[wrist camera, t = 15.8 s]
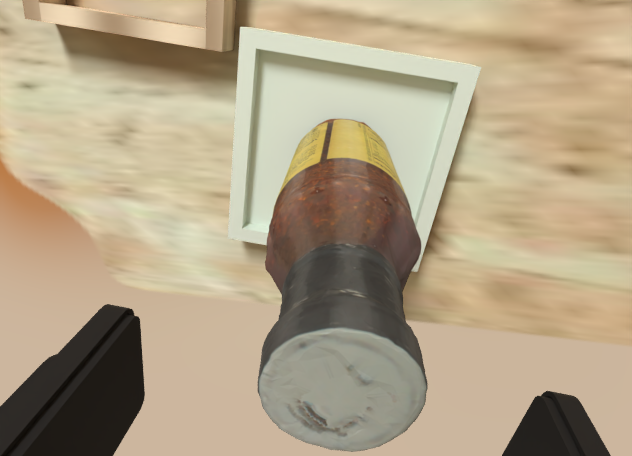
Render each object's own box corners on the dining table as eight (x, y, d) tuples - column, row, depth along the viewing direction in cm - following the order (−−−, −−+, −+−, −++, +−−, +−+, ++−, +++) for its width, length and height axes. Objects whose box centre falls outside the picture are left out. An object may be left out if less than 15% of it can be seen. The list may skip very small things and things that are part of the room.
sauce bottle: (307, 209, 29) (228, 491, 11) (286, 123, 27) (143, 313, 9) (399, 195, 28) (472, 483, 10) (387, 103, 25) (456, 274, 8)
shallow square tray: (470, 64, 25) (481, 67, 23) (413, 254, 32) (417, 272, 29) (250, 27, 26) (240, 26, 23) (236, 223, 32) (227, 238, 30)
